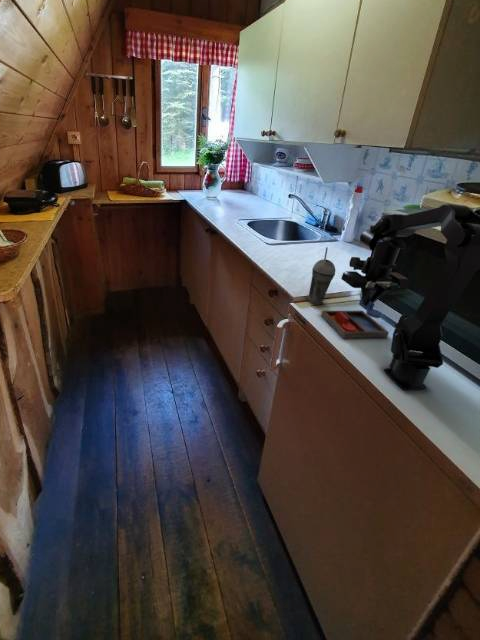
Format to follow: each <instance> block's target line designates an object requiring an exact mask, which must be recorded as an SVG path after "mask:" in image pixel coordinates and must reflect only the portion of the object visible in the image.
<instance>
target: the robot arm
mask: <svg viewBox="0 0 480 640" xmlns="http://www.w3.org/2000/svg"><path fill="white" fill-rule="evenodd" d="M431 228H432V229H433V228H440V233H441V234H442V236H443V237H444V238H445V239H446V242H445V245H444V247H443V248H444V254H445V262H444V264H443V266H442V267H441V269H440V270H439V272H438V275H437V276H436V278H435V279H434V281H433V283H432V285H431V286H430V288H429V290H428V291H427V293H426V294H425V296H424V298H423V300H422V301H421V303H420V305H419V306H418V308H417V309H416V311H415V312H414V313H413V314H406V313H403V314H402V315H400V317H399V319H398V322H397V323H396V324H395V325H394V330H393V333H392V338H391V346H390V352H391V353H392V359H391V361H390V363H389V365H388V367H389V368H388V367H387V368H384V369H383V372H384V373H385V374H386V375H387V376H388V377H390V379H391V380H392V381H394V383H395V384H396V385H397V386H398V387H399V388H400V389H401V390H403V391H413V390H426V389H427V386H426V384H424V382H425V380H426V378H427V376H428V374H429V372H430V370H431V368H436V369H439V368H440V367H441V366H443V364H444V360H443V355H442V350H441V347H440V343H441V341H442V338H443V332H442V328H441V325H442V324H443V322H444V321H445V319H446V317H447V316H448V314H449V313H450V312H451V310H452V309H453V307H454V306H455V304H456V303H457V301H458V299H459V298H460V296H461V295H462V293H463V292H464V290H465V289H466V288H467V286H468V285H469V283H470V281H471V280H472V278H473V276H474V275H475V274H476V273H477V272H478V271H479V270H480V215H479V214H478V213H477V212H475V211H474V209H472V208H471V207H469V206H467V205H462V204H453V203H445V204H442V205H440V206H436V207H432V208H427V209H424V210H419V211H415V212H411V213H407V214H404V213H402V214H401V213H385V214H384V215H382V216H381V218H380V219H379V220H378V221H377V222H376V223H375V224H374V225H373V224H372V225H370V226H369V228H368V229H366V230H364V231H363V232H362V233H361V234H360V236H359V241H360V243H361V244H362V245H363V246H364V247H366V248H367V249H368V250H370V251H372V252H373V253H372V256H368V257H367V258H366V259H361V258H360V257H358V256H351V257H350V259H349V263H348V266H349V267H350V268H353V269H352V270H353V271H352V270H351V271H349V270H346V271H344V272H343V273H342V275H341V278H340V279H341V280H342V282H344V283H346V284H347V285H348V286H349V287H351V288H354V289H360V291H361V297H362V303H363V305H367V304H368V302H369V301H371V302H373V303H374V304H375V303H376V302H377V301H378V300H379V299H380V298H382V297H383V296H384V295H387V294H388V293H389V292H392V291H393V288H392V287H390V286H391V284H396V286H397V288H398V289H400V290H401V289H402V290H408V289H409V286H410V285H411V283H410V279H409V278H408V277H405V276H404V275H402V274H400V273H399V272H395V271H394V272H392V270H394V269H397V267H398V265H397V264H395V263H396V260H397V257H398V255H399V252H400V249H402V250H405V249H407V246H406V243H405V242H404V240H403V238H407V237H409V236H412V235H415V234H416V232H417V231H420V230H426V229H431ZM401 237H402V238H401ZM359 271H360V272H361V273H362V274H364V275H362V274H361V273H359Z"/></svg>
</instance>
